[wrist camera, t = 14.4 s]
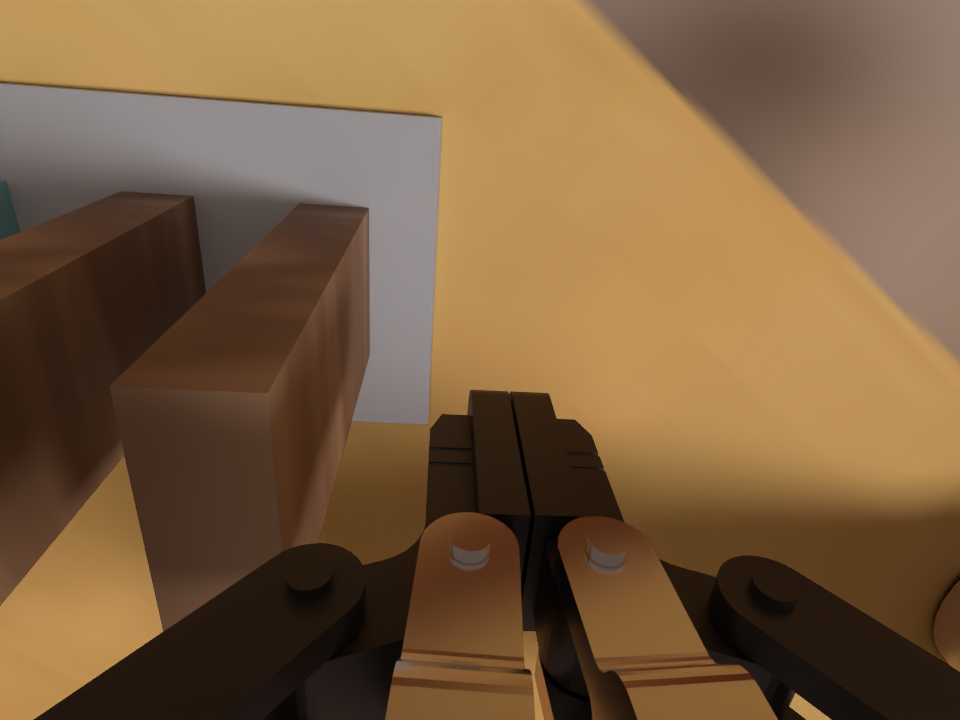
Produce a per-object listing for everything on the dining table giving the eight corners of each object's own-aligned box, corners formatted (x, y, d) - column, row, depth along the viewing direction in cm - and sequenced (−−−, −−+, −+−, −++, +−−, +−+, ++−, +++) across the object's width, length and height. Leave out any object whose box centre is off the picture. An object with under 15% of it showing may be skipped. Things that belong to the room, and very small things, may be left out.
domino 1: (193, 196, 17) (-140, 375, 8) (213, 347, 20) (-28, 639, 10) (121, 191, 17) (-315, 366, 7) (148, 344, 19) (-161, 637, 10)
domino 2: (369, 207, 18) (267, 393, 8) (369, 354, 20) (290, 644, 10) (299, 203, 18) (108, 386, 8) (307, 351, 20) (165, 642, 10)
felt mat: (442, 116, 17) (441, 118, 17) (428, 418, 22) (427, 424, 21) (-592, 36, 15) (-617, 35, 15) (-375, 384, 20) (-391, 390, 19)
